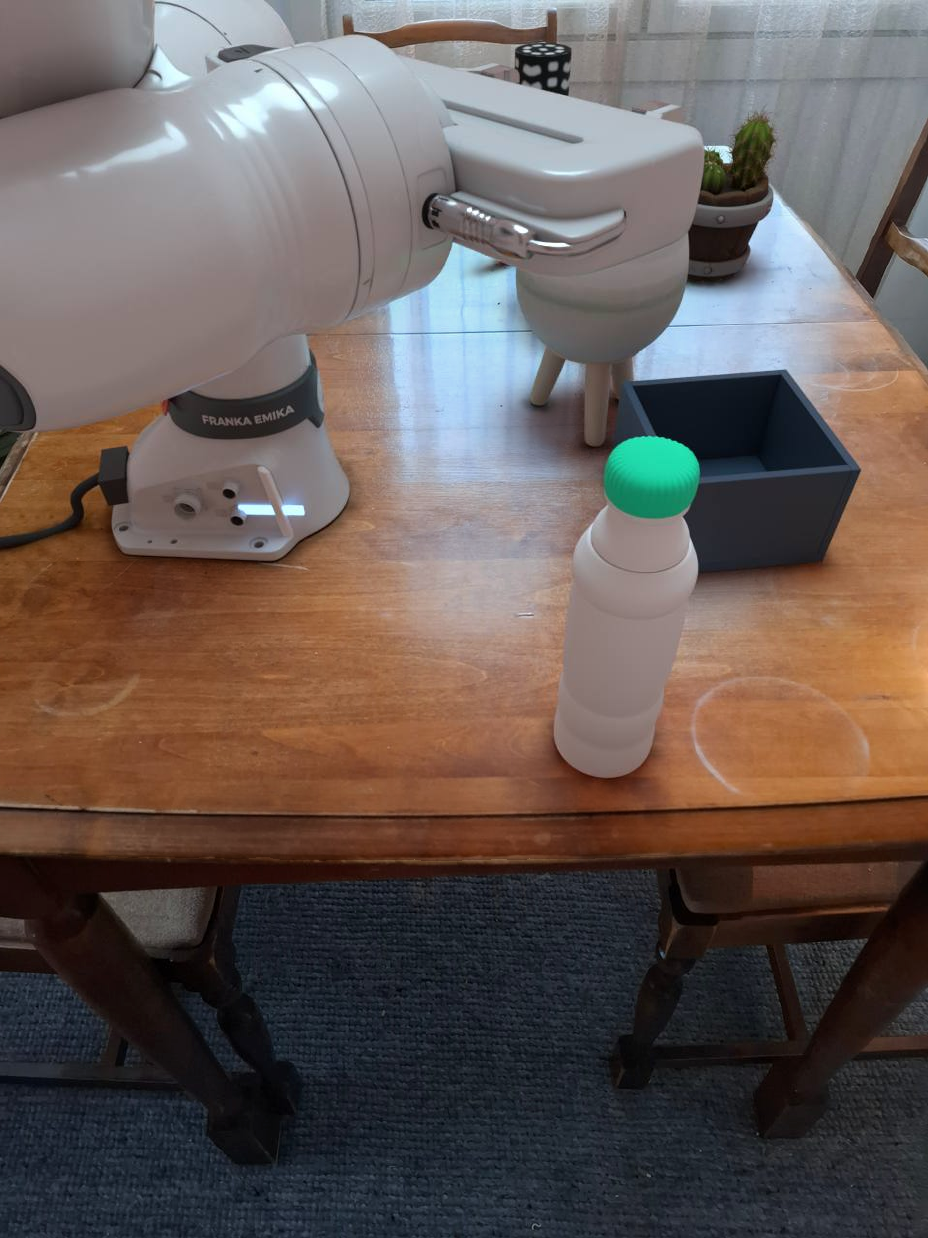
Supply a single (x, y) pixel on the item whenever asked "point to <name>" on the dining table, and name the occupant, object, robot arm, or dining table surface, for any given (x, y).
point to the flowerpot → (731, 203)
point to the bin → (748, 464)
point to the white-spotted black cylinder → (544, 66)
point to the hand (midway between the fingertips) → (583, 103)
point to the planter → (602, 323)
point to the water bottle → (627, 608)
